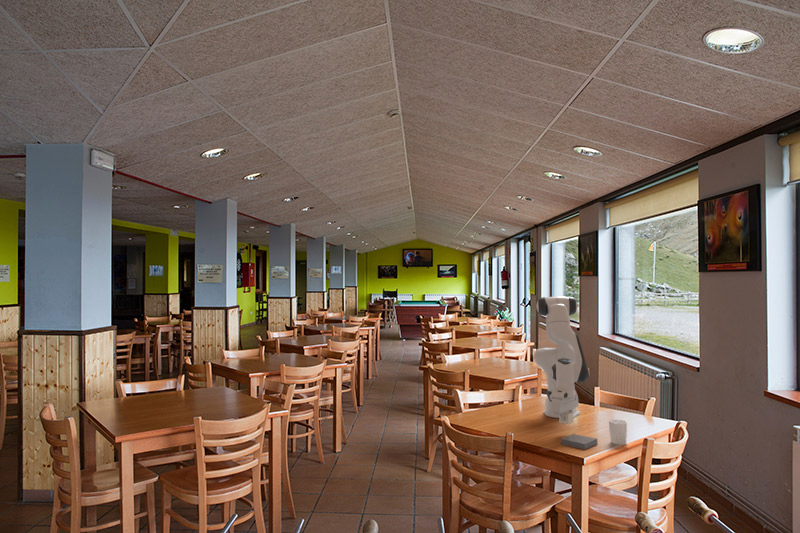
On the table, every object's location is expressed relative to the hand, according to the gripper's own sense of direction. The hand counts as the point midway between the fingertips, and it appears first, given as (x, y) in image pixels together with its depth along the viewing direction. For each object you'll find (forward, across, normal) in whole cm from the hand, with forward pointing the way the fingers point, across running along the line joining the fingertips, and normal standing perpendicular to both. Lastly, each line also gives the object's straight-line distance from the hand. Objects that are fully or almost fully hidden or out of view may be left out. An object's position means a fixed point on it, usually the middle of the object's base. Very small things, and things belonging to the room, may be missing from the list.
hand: (566, 419), depth 259 cm
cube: (+2, 0, 0) cm, 2 cm away
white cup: (+8, -4, +24) cm, 26 cm away
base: (+7, +11, +12) cm, 18 cm away
